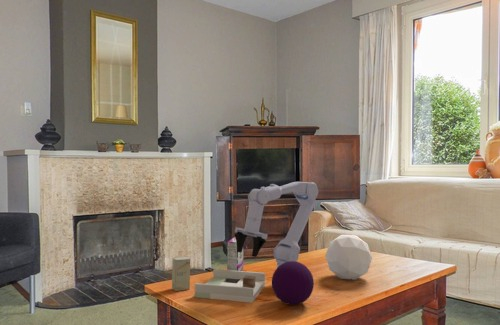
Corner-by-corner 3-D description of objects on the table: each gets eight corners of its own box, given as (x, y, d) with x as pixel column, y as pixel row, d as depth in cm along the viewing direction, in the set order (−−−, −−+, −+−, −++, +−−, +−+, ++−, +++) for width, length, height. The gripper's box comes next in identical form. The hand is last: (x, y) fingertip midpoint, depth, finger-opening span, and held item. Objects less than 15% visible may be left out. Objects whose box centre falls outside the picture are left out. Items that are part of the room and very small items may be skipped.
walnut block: (255, 286, 163) (255, 275, 163) (252, 289, 159) (253, 278, 159) (245, 285, 164) (245, 275, 164) (242, 288, 160) (242, 277, 160)
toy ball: (265, 307, 146) (265, 264, 146) (279, 294, 159) (280, 255, 159) (306, 313, 140) (307, 269, 140) (318, 300, 153) (318, 259, 153)
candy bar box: (232, 273, 189) (233, 237, 189) (243, 274, 188) (243, 237, 188) (226, 280, 178) (226, 241, 178) (237, 281, 177) (238, 242, 177)
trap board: (265, 285, 171) (265, 272, 171) (252, 302, 150) (252, 288, 150) (214, 280, 177) (214, 269, 177) (194, 297, 155) (195, 283, 155)
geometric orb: (360, 294, 182) (387, 263, 173) (322, 281, 176) (348, 248, 168) (348, 263, 198) (372, 233, 190) (312, 251, 192) (336, 219, 184)
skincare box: (174, 291, 162) (175, 260, 162) (171, 288, 166) (171, 257, 166) (190, 289, 165) (190, 258, 165) (186, 286, 169) (187, 256, 169)
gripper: (233, 215, 164) (225, 249, 162) (262, 221, 154) (255, 257, 153) (244, 217, 169) (237, 251, 167) (273, 223, 160) (266, 259, 158)
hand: (246, 254), depth 160 cm, fingers open, 7 cm apart
